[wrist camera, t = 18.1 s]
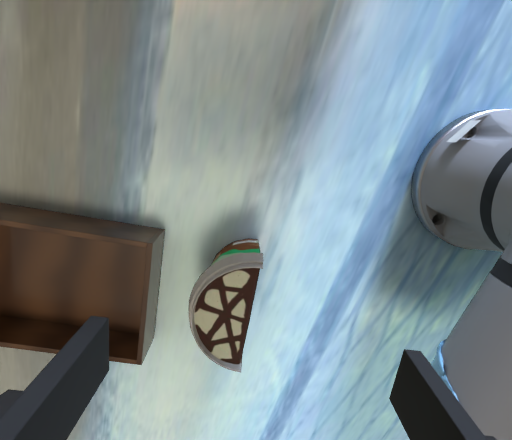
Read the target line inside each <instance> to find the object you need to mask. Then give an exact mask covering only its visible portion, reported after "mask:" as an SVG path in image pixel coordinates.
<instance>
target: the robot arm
mask: <svg viewBox="0 0 512 440" xmlns="http://www.w3.org/2000/svg"><path fill="white" fill-rule="evenodd" d="M412 201H413V206H414V209H415V212H416V214H417V216H418V218H419V220H420V221H421V223H422V224H423V225H424V226H425V228H427V229H428V230H429V231H430V232H431V233H432V234H434V235H435V236H437V237H439V238H440V239H442V240H444V241H446V242H447V243H449V244H452V245H454V246H457V247H461V248H465V249H476V250H486V251H497V252H503V253H502V254H501V256H500V258H499V259H498V261H497V262H496V264H495V266H494V267H493V269H492V270H491V271H490V272H489V274H488V275H487V277H486V279H485V280H484V282H483V283H482V285H481V286H480V288H479V289H478V291H477V293H476V294H475V296H474V297H473V299H472V300H471V302H470V304H469V305H468V307H467V308H466V310H465V311H464V313H463V314H462V316H461V318H460V319H459V321H458V322H457V324H456V325H455V327H454V328H453V330H452V332H451V333H450V335H449V336H448V338H447V339H446V340H444V341H442V342H441V343H440V344H439V346H438V348H437V354H436V356H435V358H434V360H433V362H432V363H431V364H430V363H429V362H428V360H427V359H426V358H425V356H424V355H423V354H422V352H421V351H414V350H404V352H403V355H402V358H401V362H400V365H399V368H398V372H397V375H396V378H395V381H394V385H393V388H392V391H391V395H390V398H389V399H390V401H391V403H392V405H393V407H394V409H395V411H396V413H397V415H398V417H399V419H400V421H401V423H402V425H403V427H404V429H405V431H406V433H407V435H408V437H409V439H410V440H512V109H495V110H484V111H478V112H474V113H471V114H468V115H465V116H463V117H461V118H459V119H457V120H455V121H453V122H452V123H450V124H449V125H447V126H446V127H444V128H443V129H442V130H441V131H440V132H438V133H437V134H436V136H435V137H434V138H433V139H432V140H431V141H430V142H429V143H428V145H427V146H426V148H425V149H424V151H423V152H422V154H421V156H420V158H419V160H418V162H417V165H416V167H415V171H414V174H413V179H412ZM108 371H109V318H107V317H98V316H90V317H89V319H88V320H87V321H86V322H85V323H84V324H83V325H82V326H81V328H80V329H79V330H78V331H77V332H76V333H75V334H74V335H73V336H72V338H71V339H70V340H69V341H68V342H67V343H66V344H65V345H64V347H63V348H62V349H61V350H60V351H59V352H58V353H57V354H56V356H55V357H54V358H53V359H52V360H51V361H50V362H49V363H48V364H47V366H46V367H45V368H44V369H43V370H42V371H41V372H40V373H39V375H38V376H37V377H36V378H35V379H34V380H33V381H32V382H31V384H30V385H29V386H28V387H27V388H26V389H25V390H24V391H18V390H7V391H6V392H4V393H3V394H1V395H0V440H66V439H67V438H68V436H69V435H70V433H71V431H72V430H73V428H74V426H75V425H76V423H77V421H78V420H79V418H80V417H81V415H82V413H83V412H84V410H85V408H86V407H87V405H88V404H89V402H90V400H91V399H92V397H93V395H94V394H95V392H96V391H97V389H98V387H99V386H100V384H101V382H102V381H103V379H104V377H105V376H106V374H107V373H108Z"/></svg>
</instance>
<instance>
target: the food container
mask: <svg viewBox="0 0 512 440" xmlns="http://www.w3.org/2000/svg"><path fill="white" fill-rule="evenodd" d="M260 268H262V269H263V253H260V248H259V243H258V239H243V240H238V241H234V242H232V243H230V244H228V245H227V246H225V247H224V248H223V249H222V250H221V251H220V252H219V253H218V254H217V255H216V256H215V258H214V260H213V262H212V265H211V266H210V267H209V268H208V269H206V270H205V272H204V273H203V274H202V275H201V276H200V277H199V279H198V280H197V282H196V283H195V285H194V287H193V289H192V292H191V295H190V300H189V321H190V328H191V331H192V334H193V336H194V338H195V340H196V342H197V344H198V346H199V347H200V349H201V350H202V351H203V353H204V354H205V355H206V356H207V357H208V358H209V359H211V360H212V361H214V362H215V363H216V364H218V365H220V366H222V367H224V368H227V369H230V370H233V371H237V372H241V366H242V353H243V348H244V343H245V339H246V334H247V329H248V325H249V320H250V315H251V310H252V305H253V300H254V295H255V290H256V286H257V281H258V276H259V270H260Z"/></svg>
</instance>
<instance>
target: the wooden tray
mask: <svg viewBox="0 0 512 440" xmlns="http://www.w3.org/2000/svg"><path fill="white" fill-rule="evenodd" d="M164 235H165V229H159V228H153V227H147V226H141V225H135V224H128V223H122V222H116V221H110V220H104V219H97V218H91V217H85V216H79V215H73V214H67V213H60V212H54V211H48V210H42V209H36V208H30V207H23V206H17V205H11V204H5V203H0V346H2V347H10V348H17V349H25V350H32V351H40V352H47V353H55V354H57V353H58V352H59V351H60V350H61V349H62V348H63V347H64V345H65V344H66V343H67V342H68V341H69V340H70V339H71V338H72V336H73V335H74V334H75V333H76V332H77V331H78V330H79V329H80V328H81V326H82V325H83V324H84V323H85V322H86V321H87V320H88V319H89V317H90V316H98V317H107V318H109V361H115V362H123V363H130V364H138V365H142V363H143V360H144V358H145V356H146V354H147V352H148V350H149V347H150V345H151V343H152V341H153V339H154V331H155V321H156V312H157V302H158V292H159V283H160V273H161V264H162V254H163V244H164Z"/></svg>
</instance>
